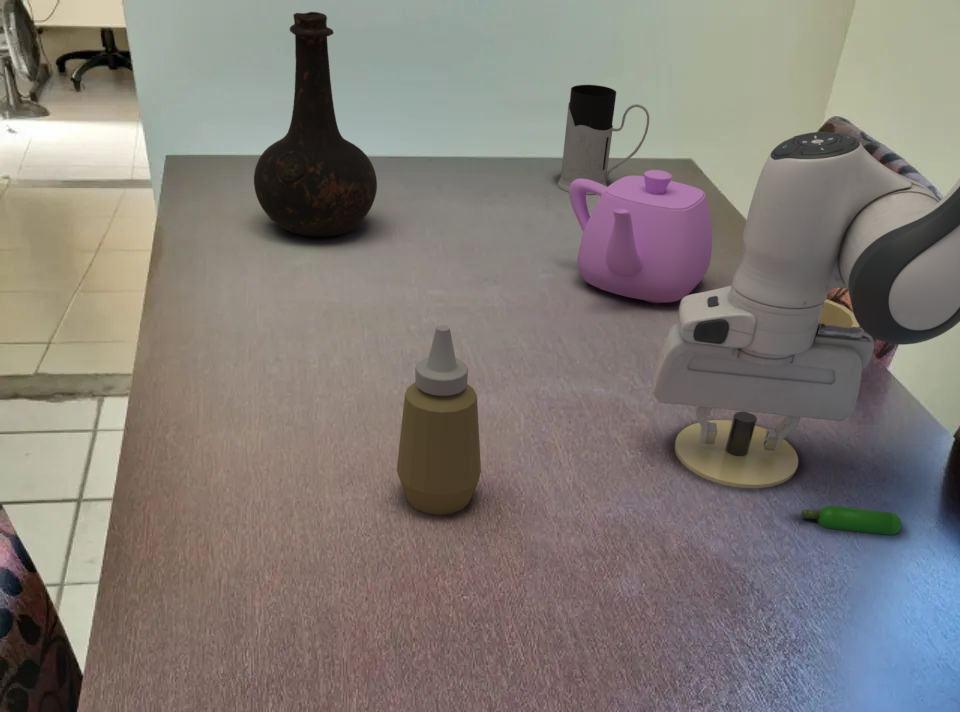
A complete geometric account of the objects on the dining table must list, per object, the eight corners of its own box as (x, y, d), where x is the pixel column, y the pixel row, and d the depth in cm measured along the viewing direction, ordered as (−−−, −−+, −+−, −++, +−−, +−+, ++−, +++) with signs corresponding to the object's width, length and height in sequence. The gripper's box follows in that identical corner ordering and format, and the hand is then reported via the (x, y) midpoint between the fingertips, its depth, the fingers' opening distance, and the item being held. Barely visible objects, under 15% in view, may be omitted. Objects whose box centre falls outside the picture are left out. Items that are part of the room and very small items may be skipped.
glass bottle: (236, 234, 145) (211, 14, 126) (297, 200, 157) (283, -5, 138) (342, 258, 140) (333, 33, 121) (396, 220, 153) (395, 11, 134)
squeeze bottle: (495, 503, 96) (509, 329, 84) (439, 537, 91) (445, 358, 79) (436, 471, 100) (440, 300, 88) (379, 502, 95) (375, 326, 83)
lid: (787, 436, 109) (800, 393, 105) (802, 500, 99) (817, 456, 96) (671, 423, 109) (680, 381, 106) (675, 486, 100) (684, 442, 96)
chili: (893, 528, 96) (902, 508, 95) (898, 543, 94) (907, 522, 93) (796, 518, 97) (802, 497, 95) (799, 532, 95) (805, 511, 93)
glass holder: (563, 175, 174) (572, 81, 164) (641, 186, 172) (656, 91, 161) (552, 190, 167) (562, 93, 157) (634, 202, 165) (649, 104, 155)
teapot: (584, 248, 148) (597, 140, 138) (716, 280, 141) (740, 170, 131) (516, 297, 133) (525, 181, 123) (660, 337, 126) (682, 217, 116)
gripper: (874, 316, 95) (833, 439, 105) (665, 295, 96) (643, 420, 106) (886, 344, 91) (842, 470, 100) (667, 322, 92) (643, 450, 101)
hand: (738, 444), depth 103 cm, fingers open, 5 cm apart
